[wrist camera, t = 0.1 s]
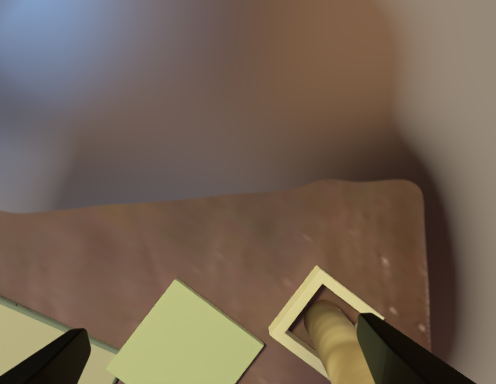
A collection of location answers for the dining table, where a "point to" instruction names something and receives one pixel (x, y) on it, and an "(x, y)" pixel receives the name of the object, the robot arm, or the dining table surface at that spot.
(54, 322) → the sticky note pad
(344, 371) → the tan dome-topped cylinder
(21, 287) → the dining table surface
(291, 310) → the cream rectangular frame
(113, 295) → the dining table surface
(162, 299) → the mat
